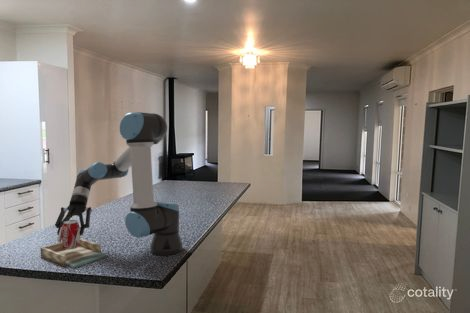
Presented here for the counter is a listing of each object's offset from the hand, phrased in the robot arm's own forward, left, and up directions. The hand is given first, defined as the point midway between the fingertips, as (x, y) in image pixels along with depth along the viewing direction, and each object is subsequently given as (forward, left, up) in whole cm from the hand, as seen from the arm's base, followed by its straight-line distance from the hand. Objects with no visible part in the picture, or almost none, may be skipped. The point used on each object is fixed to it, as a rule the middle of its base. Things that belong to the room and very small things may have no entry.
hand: (68, 241), depth 153 cm
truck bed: (-1, -3, -7) cm, 8 cm away
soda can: (+2, -3, -4) cm, 6 cm away
